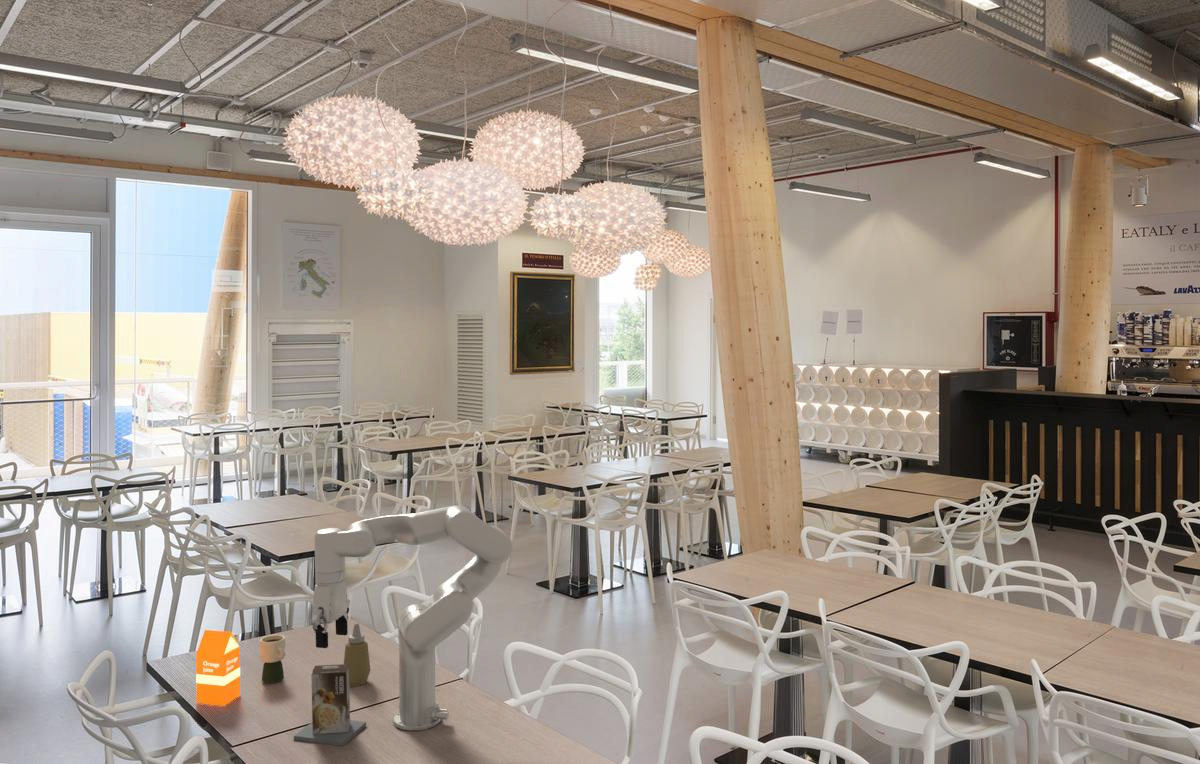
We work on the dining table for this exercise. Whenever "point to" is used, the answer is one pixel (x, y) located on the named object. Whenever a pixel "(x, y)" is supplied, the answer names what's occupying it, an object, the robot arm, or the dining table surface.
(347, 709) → the coffee box
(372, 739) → the dining table surface
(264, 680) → the character mug
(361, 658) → the squeeze bottle
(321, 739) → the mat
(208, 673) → the orange juice
